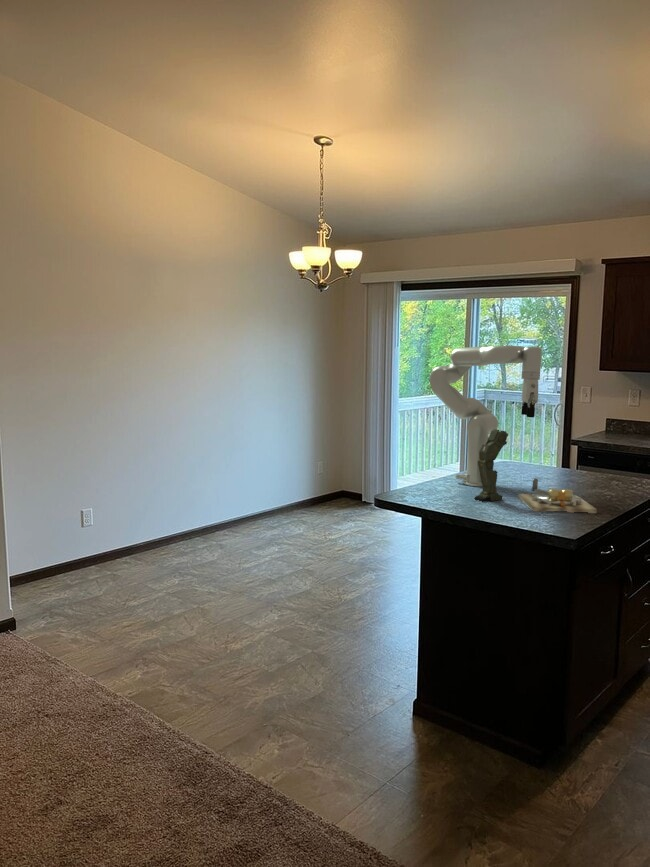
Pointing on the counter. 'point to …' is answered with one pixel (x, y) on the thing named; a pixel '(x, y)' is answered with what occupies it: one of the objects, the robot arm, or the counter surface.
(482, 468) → the mechanical leg
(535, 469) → the counter surface
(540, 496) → the sprocket
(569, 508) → the sprocket plate
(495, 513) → the counter surface
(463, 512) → the counter surface
